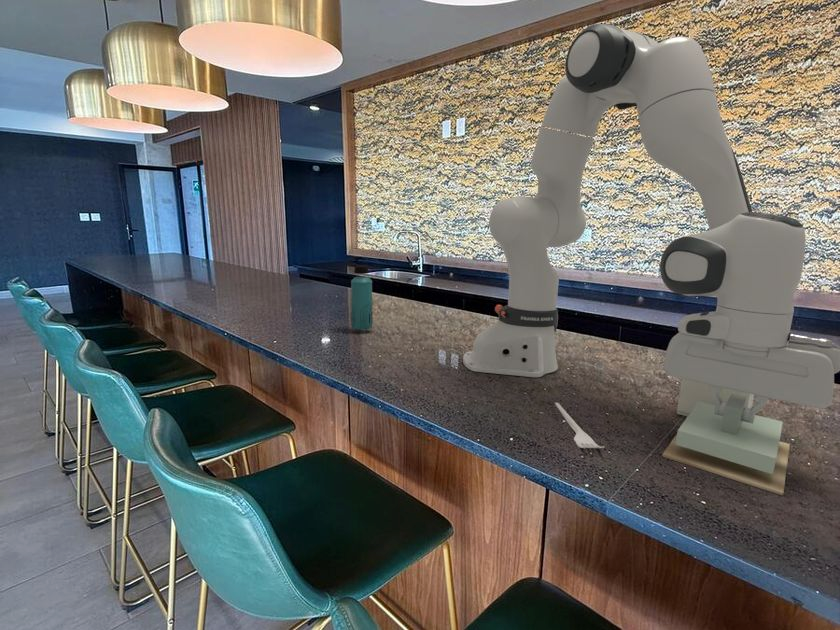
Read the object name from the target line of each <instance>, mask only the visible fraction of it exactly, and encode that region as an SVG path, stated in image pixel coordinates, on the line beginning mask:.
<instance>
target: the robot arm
mask: <svg viewBox="0 0 840 630" xmlns="http://www.w3.org/2000/svg"><path fill="white" fill-rule="evenodd" d="M564 65H565V66H564V69H565V71H564V72H565V76H563V77H562V78H561V79H560V81H559V82H558V84H557V86H556V88H555V90H554V92H553V94H552V97H551V99H550V101H549V103H548V106H547V108H546V111H545V114H544V116H543V121H542V123H541V126H540V129H539V133H538V136H537V141H536V143H535V147H534V149H533V154H532V156H531V162H530V165H531V169H532V172H533V173H534V175H535V176H536V177H537V195H536V196H535V197H534V196H523V195H519V196H513V197H509V198H508V197H507V198H504V199H501V200H500V201H498V202H497V203H496V204H495V205H494V207H493V208H492V210H491V211H490V215H489V219H488V220H489V221H488V226H489V231H490V234H491V236H492V238H493V239H494V240H495V241H496V242H497V243H498V245H500V247H501V249H502V250H503V253H504V256H505V260H506V262H507V267H508V298H507V299H508V300H507V304H506V305H504V306H503V305H502V304H496V306H495V307H494V312H495V313H496V314H498V321H496V322H494V323H493V324H491V325H489V327H487V328H485V329H484V330H482V331H480V332H479V333H478V334H477V335H476V337H475V339H474V343H473V345H472V350H471V351H466V352H465V353H464V354H463V357H462V362H463V365H464V367H466V369H468V370H470V371H472V372H476V373H485V374H487V373H488V374H497V375H506V376H520V377H527V378H540V377H542V376H544V375H547V374H549V373H554V372H556V371H558V369H559V364H558V360H557V355H556V340H555V339H556V332H557V327H558V320H559V314H558V313H559V310H558V308H557V306H558V305H557V304H558V293H559V292H558V291H559V283H560V278H559V277H560V276H559V274H558V272H557V270H556V269H554V267H552V265H551V262H550V259H549V255H548V248H560V247H564V246H567V245H571V244H573V243H575V242H577V241H578V240H579V239H581V238H582V236H583V234H584V232H585V229H586V227H587V218H586V214H585V212H584V210H583V208H582V205H581V185H582V179H583V174H584V171H585V167H586V164H587V162H588V158H589V155H590V153H591V149H592V146H593V142H594V138H596V134H597V130H598V127H599V124H600V122H601V119H602V117H603V115H604V113H605V112H606V111H607V110H608V109H609V108H611V107H613V106H615V108H617V110H620V111H621V110H625V109H629V108H635V107H636V108H637V109H636V110H637V119H638V125H639V130H640V131H639V132H640V137H641V141H642V144H643V146H644V149H645V151H646V152H647V155H648V156H649V158H650V159H652V160H653V161H654V162H655V163H657V164H658V165H660V166H661V167H664V168H666V169H668V170H669V171H671V172H673V173H675V174H677V175H679V176H680V177H682V178H683V179H684V180H685V181H687V182H688V183H689V184H690V185H692V187H693V188H694V189H695V190H696V192H697V194H699V195H698V196H699V197H700V200H701V203H702V206H703V210H704V214H705V217H706V222H707V225H708V228H709V229H708V230H706V231H702V232H698V233H694V234H691V235H690V234H689V235H686V236H681V237H678V238H676V239H674V240H673V241H672V242H670V243H669V244H668V245H667V247H666V248H665V249H664V251H663V253H662V255H661V257H660V262H659V272H660V273H659V274H660V277H661V279H662V282H663V284H664V285H665V286H666V288H668V290H669V291H671V292H673V293H675V294H679V295H682V296H687V297H716V300H717V303H716V309H715V311H706V312H697V313H691V314H688V315H685V316H684V317H682V318H681V319H679V321H678V324H677V330H678V333H676V334H675V335H674V336H673V337H672V338H671V339H670V341H669V343H668V346H667V348H666V352H665V355H664V359H663V364H662V369H663V372H664V373H665V374H666V375H667V376H669V377H674V378H678V379H681V380H682V379H686V380H691V381H695V382H700V383H704V384H709V385H710V388H709V393H710V395H711V397H712V399H713V401H714V403H715V410H714V414H716V415H721V416H723V415H724V409H725V405H726V402H722V399H721V397H720V395H719V393H720V392H721V390H722V387H723V388H727V389H732V390H736V391H741V392H745V393H750V394H754V401H755V404H753V405H752V408H747V407H744V409H743V413H742V415H743V416H742V418H741V421H744V422H748V423H752V424H753V422H754V418H755V415H756V414H757V413H758V412H759V411H761V410H762V409H764V408H765V406H767V403H768V400H769V398H770V399H774V400H777V401H783V402H786V403H791V404H797V405H801V406H805V407H808V408H810V407H811V408H812V409H813V408H815V409H819V410H822V409H826V408H827V407H829V406H831V405H832V403H833V398H834V397H833V396H834V389H835V374H837V373H839V372H840V345H839V344H837V343H834V341H833V340H831V339H828V338H822V337H820V338H817V337H810V336H807V335H800V334H796V333H795V334H793V333H790V331H791V327H792V323H793V318H794V317H793V316H794V312H795V307H794V294H795V291H796V289H797V287H798V286H799V284H800V282H801V278H802V273H803V267H804V261H805V254H806V253H805V252H806V232H805V227H804V224H803V223H801V222H800V221H799V220H797V219H796V218H793V217H791V216H790V217H789V216H785V215H780V214H773V213H765V212H759V211H757V212H756V211H753V210H752V206H751V203H750V198H749V195H748V192H747V189H746V185H745V181H744V178H743V174H742V172H741V167H740V164H739V162H738V159H737V158H736V155H735V152H734V150H733V148H732V145H731V144H730V141H729V139H728V136H727V133H726V130H725V127H724V124H723V121H722V117H721V113H720V108H719V105H718V99H717V93H716V87H715V83H714V79H713V74H712V71H711V68H710V65H709V63H708V60H707V58H706V55H705V53H704V51H703V49H702V46H701V45H700V43H699V42H698V41H697V40H695V39H693V38H692V37H688V36H674V37H670V38H667V39H665V40H661V41H660V42H658V41H656V40H655V39H653V38H651V37H649V36H647V35H645V34H643V33H641V32H638V31H637V32H636V31H631V30H627V29H624V28H620V27H619V26H616V25H614V24H610V23H609V24H608V23H596V24H592V25H589V26H587V27H586V28H584V29H583V30H581V32H579V33H578V35H577V36H576V37H575V38H574V40H573V41H572V44H570V47H569V49H568V51H567V55H566V58H565V64H564ZM833 347H834V348H833Z"/></svg>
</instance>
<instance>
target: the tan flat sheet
mask: <svg viewBox="0 0 840 630" xmlns="http://www.w3.org/2000/svg"><path fill="white" fill-rule="evenodd" d="M676 439H677V433H676V434H675V436H674V437H673V438H672V440H671V441H670V443H669V444H668V446H667V447H666V448H665V450H664V451H663V453H662V456H661V457H663V458H666V459H669V460H672V461H675V462H678V463H681V464H684V465H687V466H690V467H693V468H697V469H699V470H703V471H706V472H709V473H713V474H715V475H718V476H721V477H723V478H727V479H730V480H734V481H737V482H740V483H742V484H745V485H748V486H752V487H755V488H758V489H762V490H764V491H767V492H769V493H770V492H771V493H773V494H777V495H780V496H784V492H785V491H784V490H785V486H786V485H785V484H786V483H785V482H786V477H787V476H786V474H787V469H788V468H787V467H788V459H789V453H790V444H791V443H787V442H784V441H779V446H778V452H777V457H776V462H775V467H774V472H773V474H770V473H767V472H763V471H760V470H757V469H754V468H750V467H747V466H744V465H741V464H737V463H734V462H731V461H728V460H724V459H721V458H718V457H715V456H711V455H708V454H705V453H701V452H698V451H695V450H692V449H688V448H685V447H682V446H679V445H676Z"/></svg>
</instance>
